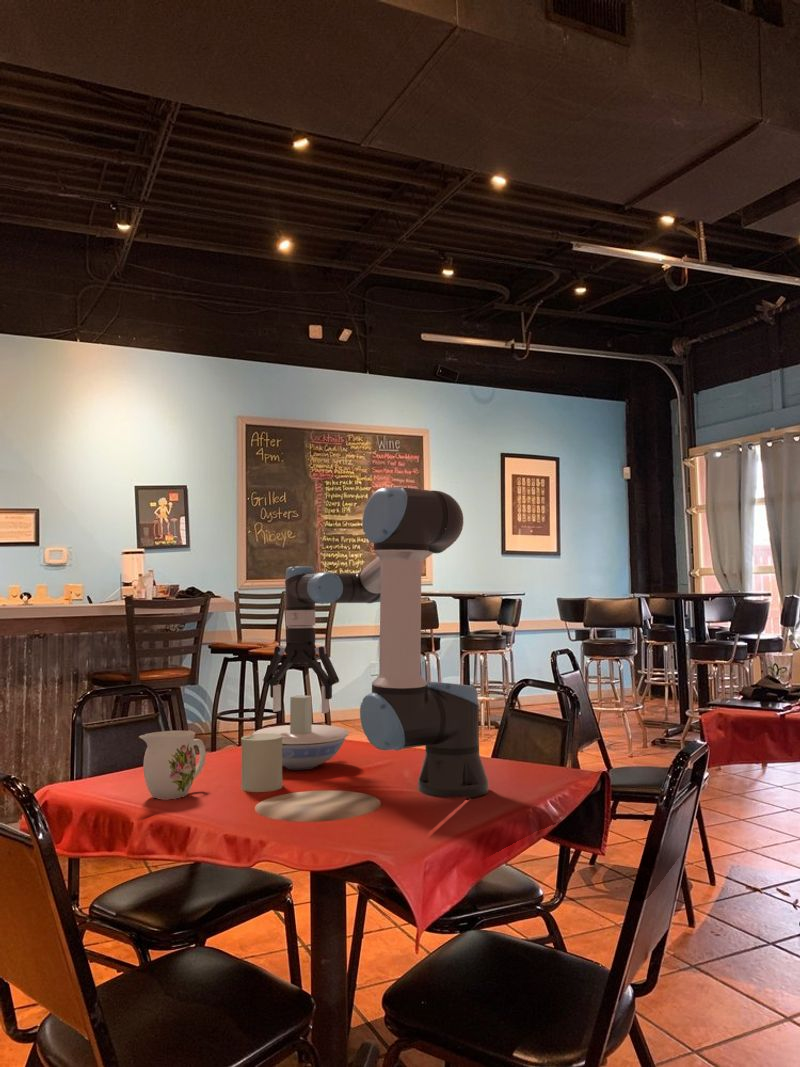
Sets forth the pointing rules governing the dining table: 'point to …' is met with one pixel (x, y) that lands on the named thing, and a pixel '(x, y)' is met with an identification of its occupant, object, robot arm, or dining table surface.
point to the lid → (304, 725)
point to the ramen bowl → (308, 754)
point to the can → (261, 762)
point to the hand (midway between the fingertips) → (300, 711)
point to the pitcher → (171, 763)
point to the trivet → (317, 806)
